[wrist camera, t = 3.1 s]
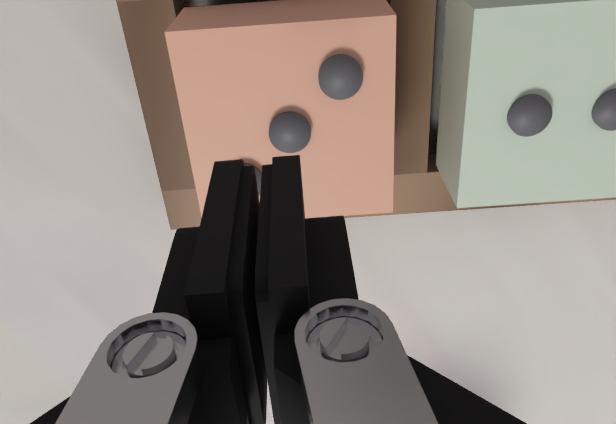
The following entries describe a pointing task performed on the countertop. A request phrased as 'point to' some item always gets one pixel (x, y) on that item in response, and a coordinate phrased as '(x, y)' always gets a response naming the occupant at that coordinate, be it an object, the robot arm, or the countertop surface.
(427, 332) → the countertop surface
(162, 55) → the board
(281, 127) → the tile three
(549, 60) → the tile two
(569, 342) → the countertop surface
